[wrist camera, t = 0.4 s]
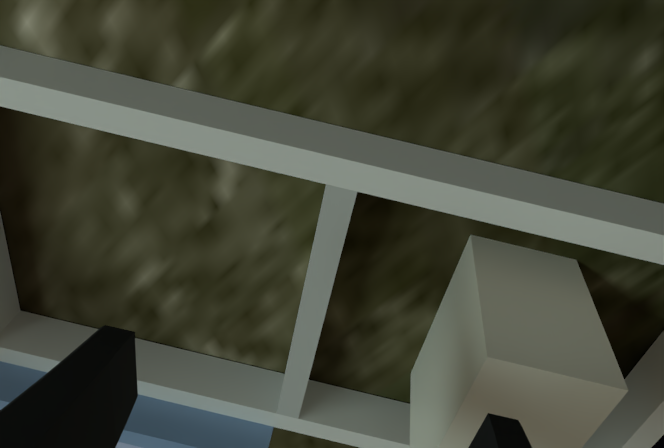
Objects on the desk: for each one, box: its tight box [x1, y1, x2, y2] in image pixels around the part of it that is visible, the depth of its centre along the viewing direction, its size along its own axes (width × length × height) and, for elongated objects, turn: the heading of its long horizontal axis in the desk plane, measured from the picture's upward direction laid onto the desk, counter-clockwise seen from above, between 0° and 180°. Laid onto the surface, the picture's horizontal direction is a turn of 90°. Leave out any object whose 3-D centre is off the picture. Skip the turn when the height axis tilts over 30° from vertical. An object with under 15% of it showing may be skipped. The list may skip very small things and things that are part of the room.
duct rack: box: [0, 45, 664, 448], centre depth 20 cm, size 15×29×4 cm, turn 79°
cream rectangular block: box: [410, 235, 629, 448], centre depth 19 cm, size 8×4×6 cm, turn 169°
